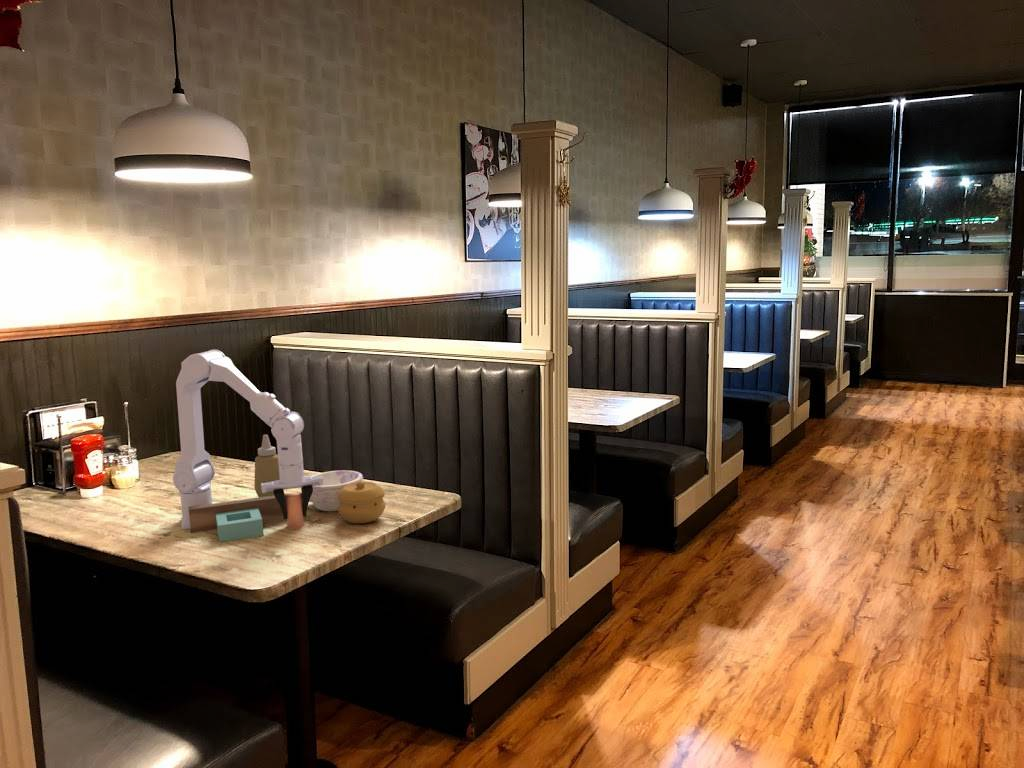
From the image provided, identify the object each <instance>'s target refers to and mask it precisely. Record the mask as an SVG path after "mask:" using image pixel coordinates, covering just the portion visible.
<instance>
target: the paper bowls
mask: <svg viewBox="0 0 1024 768" xmlns="http://www.w3.org/2000/svg"><path fill="white" fill-rule="evenodd" d="M319 476H322V477H323V486H319V485H318V486H312V487H313V493H312V495H311V497H310V500H309V503H313V505H314V507H315V508H316V509H318V510H320V511H323V512H339V511H338V506H339V504H340V501H339V500H338V499H337V498H338V496H337V495H338V493H339V492H340V490H341V489H342V488H343V487H345V486H347V485H349V484H353V483H357V482H359V481H362V482H364V476H363V473H361V472H359V471H355V470H343V469H342V470H331V471H324V472H320V473H317V474H313V475H310V477H319Z"/></svg>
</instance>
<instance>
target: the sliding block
mask: <svg viewBox="0 0 1024 768" xmlns="http://www.w3.org/2000/svg"><path fill="white" fill-rule="evenodd" d="M216 523H217V529H216V530H217V537H218V541H219V543H221V542H229V541H235V540H241V539H243V540H244V539H248V538H249V539H250V538H255V537H262V536H264V526H263V523H264V522H262V517H261V514H260V512H259V509H258V508H253V509H246V510H239V511H231V512H224V513H217V514H216Z"/></svg>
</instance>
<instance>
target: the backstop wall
mask: <svg viewBox="0 0 1024 768" xmlns="http://www.w3.org/2000/svg"><path fill="white" fill-rule="evenodd" d="M284 494H285V495H286V494H287V493H284ZM285 507H286V503H285ZM188 508H189V519H190V529H189V530H190V534H194V533H200V531H202V532H208V530H209V531H214V530H213V529H215V530H217V523H216V514H217V513H224V512H231V511H239V510H246V509H253V508H258V509H259V512H260V514H261V517H262V522H263V523H270V522H275V521H276V522H277V521H284V517H283V512H282V509H281V507H280V505H279V503H278V501H277V499H276V498H275V496H266V497H251V498H246V499H239V500H230V501H223V502H222V501H221V502H217V503H216V502H215V503H212V504H207V505H200V506H192V507H188Z"/></svg>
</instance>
